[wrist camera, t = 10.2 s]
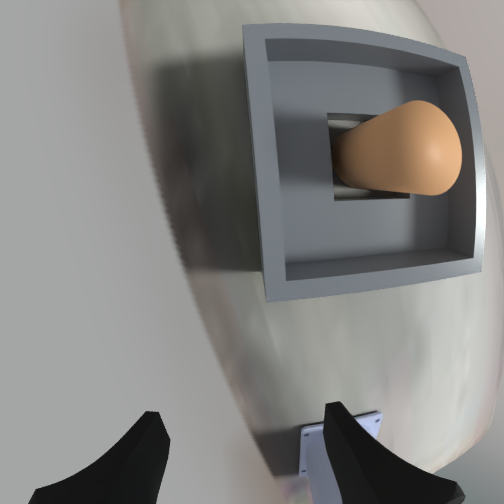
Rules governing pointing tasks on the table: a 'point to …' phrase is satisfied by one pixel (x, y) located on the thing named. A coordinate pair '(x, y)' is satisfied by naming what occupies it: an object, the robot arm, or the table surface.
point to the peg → (400, 151)
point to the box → (320, 164)
